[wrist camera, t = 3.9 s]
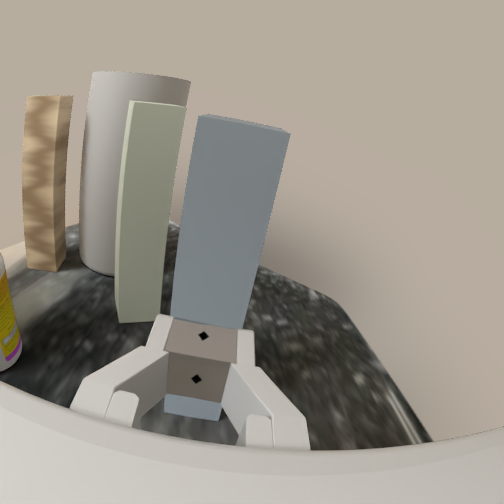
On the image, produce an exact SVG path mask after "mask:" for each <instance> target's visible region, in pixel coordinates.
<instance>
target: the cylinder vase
mask: <svg viewBox="0 0 504 504" xmlns="http://www.w3.org/2000/svg"><path fill="white" fill-rule="evenodd" d="M190 84H191V82H190V81H187V80H183V79H178V78H173V77H167V76H160V75H151V74H143V73H131V72H94V73H93V76H92V82H91V88H90V94H89V100H88V107H87V114H86V122H85V130H84V140H83V150H82V162H81V177H80V203H79V251H80V257H81V259H82V261H83V263H84V264H85V265H86V266H87V267H89V268H90V269H92V270H93V271H95V272H98V273H100V274H104V275H108V276H114V277H115V240H116V218H117V202H118V189H119V178H120V168H121V159H122V150H123V142H124V135H125V128H126V121H127V114H128V108H129V102H130V100H131V101H143V102H153V103H163V104H172V105H178V106H182V107H186V104H187V99H188V93H189V89H190Z"/></svg>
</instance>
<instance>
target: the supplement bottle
mask: <svg viewBox="0 0 504 504" xmlns="http://www.w3.org/2000/svg"><path fill="white" fill-rule="evenodd" d="M21 350H22V340H21V336H20V332H19V329H18V325H17V321H16V317H15V313H14V309H13V305H12V300H11V296H10V291H9V286H8V281H7V275H6V270H5V265H4V260H3V257H2V255H1V253H0V372H1V371H3V370H6V369H8V368H9V367H11V366H12V365H13V364H14V363H15V362H16V361H17V359H18V358H19V356H20V354H21Z"/></svg>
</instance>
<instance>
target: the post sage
mask: <svg viewBox="0 0 504 504" xmlns="http://www.w3.org/2000/svg"><path fill="white" fill-rule="evenodd" d="M185 113H186V107H182V106H178V105H172V104H163V103H153V102H143V101H131V100H130V102H129V108H128V114H127V121H126V128H125V135H124V142H123V150H122V159H121V168H120V178H119V189H118V202H117V218H116V240H115V302H116V308H117V313H118V319H119V323H132V322H147V321H155V319H156V317H157V315H158V314H160V305H161V292H162V280H163V269H164V259H165V249H166V240H167V231H168V223H169V215H170V207H171V199H172V192H173V185H174V178H175V171H176V165H177V159H178V153H179V146H180V141H181V135H182V130H183V124H184V119H185Z"/></svg>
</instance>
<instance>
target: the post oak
mask: <svg viewBox="0 0 504 504" xmlns="http://www.w3.org/2000/svg"><path fill="white" fill-rule="evenodd" d="M72 102H73V96H29V97H27V105H26V114H25V126H24V140H23V161H22V162H23V163H22V193H23V195H22V197H23V221H24V235H25V246H26V256H27V264H28V268H30V269H37V270H44V271H51V272H57V271H58V269H59V267H60V266H61V264H62V262H63V261H64V259H65V257H66V239H65V183H66V161H67V148H68V136H69V126H70V118H71V109H72Z"/></svg>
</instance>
